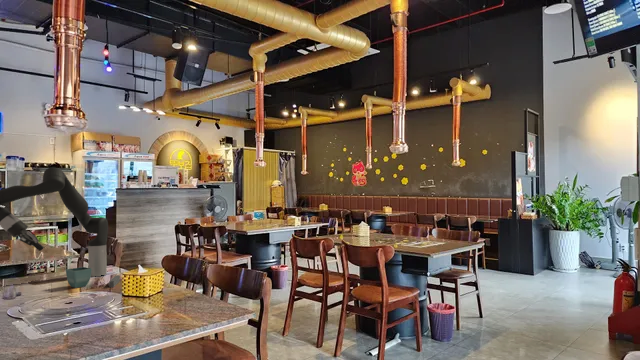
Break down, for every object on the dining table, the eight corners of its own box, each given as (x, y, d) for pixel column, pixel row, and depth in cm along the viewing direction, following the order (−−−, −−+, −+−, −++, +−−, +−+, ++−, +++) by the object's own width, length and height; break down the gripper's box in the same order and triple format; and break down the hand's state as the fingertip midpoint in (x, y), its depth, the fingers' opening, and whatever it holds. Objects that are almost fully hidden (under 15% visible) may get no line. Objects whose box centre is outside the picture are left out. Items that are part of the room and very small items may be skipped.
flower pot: (92, 285, 209) (92, 268, 210) (74, 289, 202) (74, 271, 202) (83, 284, 214) (83, 266, 214) (65, 287, 206) (65, 269, 207)
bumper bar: (109, 287, 204) (109, 281, 205) (115, 281, 220) (115, 275, 220) (113, 287, 205) (113, 281, 205) (119, 280, 220) (119, 275, 220)
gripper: (13, 230, 207) (40, 253, 210) (0, 232, 194) (30, 256, 197) (25, 219, 208) (52, 242, 211) (13, 220, 196) (43, 245, 199)
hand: (41, 249), depth 204 cm, fingers closed
